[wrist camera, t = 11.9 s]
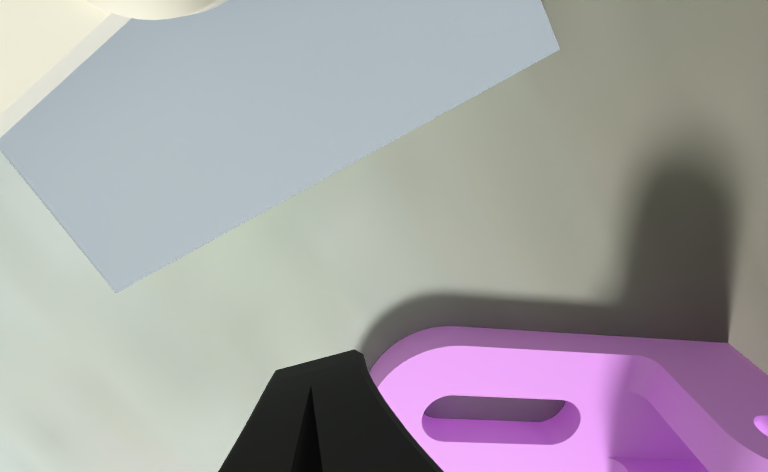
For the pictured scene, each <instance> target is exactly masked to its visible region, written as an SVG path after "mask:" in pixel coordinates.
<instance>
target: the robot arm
mask: <svg viewBox="0 0 768 472" xmlns="http://www.w3.org/2000/svg"><path fill="white" fill-rule="evenodd" d="M218 472H444V471H443V470H442V469H441V468H440V467H439V466H438V465H437V464H436V463H435V462H434V460H433V459H432V458H431V457H430V456H429V455H428V454H427V453H426V452H425V450H424V449H423V448H422V447H421V446H420V445H419V444H418V443H417V441H416V440H415V439H414V438H413V437H412V435H411V434H410V433H409V432H408V430H407V429H406V428H405V427H404V425H403V424H402V423H401V421H400V420H399V419H398V417H397V416H396V415H395V413H394V412H393V411H392V409H391V408H390V407H389V405H388V404H387V402H386V401H385V399H384V398H383V396H382V395H381V393H380V392H379V390H378V388H377V387H376V385H375V383H374V382H373V380H372V378H371V376H370V374H369V372H368V370H367V366H366V363H365V359H364V356H363V354H362V353H360V352H358V351H356V350H351V351H347V352H343V353H339V354H336V355H332V356H328V357H324V358H321V359H317V360H313V361H309V362H306V363H302V364H298V365H294V366H291V367H287V368H283V369H279V370H276V371H275V373H274V374H273V376H272V378H271V379H270V381H269V383H268V385H267V386H266V388H265V390H264V392H263V394H262V396H261V397H260V399H259V401H258V403H257V405H256V407H255V409H254V410H253V412H252V414H251V416H250V418H249V420H248V421H247V423H246V425H245V427H244V429H243V430H242V432H241V434H240V436H239V437H238V439H237V441H236V443H235V444H234V446H233V448H232V449H231V451H230V453H229V454H228V456H227V458H226V460H225V461H224V463H223V465H222V466H221V468H220V470H219V471H218Z"/></svg>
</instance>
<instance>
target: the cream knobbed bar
mask: <svg viewBox="0 0 768 472" xmlns="http://www.w3.org/2000/svg"><path fill="white" fill-rule="evenodd" d="M227 1H229V0H0V138H1V137H2V136H3V135H4V134H5V133H6V132H7V131H8V130H9V129H11V128H12V127H13V126H14V125H15V124H16V123H17V122H18V121H19V120H20V119H22V118H23V117H24V116H25V115H26V114H27V113H28V112H29V111H30V110H31V109H33V108H34V107H35V106H36V105H37V104H38V103H39V102H40V101H41V100H42V99H44V98H45V97H46V96H47V95H48V94H49V93H50V92H51V91H52V90H53V89H54V88H56V87H57V86H58V85H59V84H60V83H61V82H62V81H63V80H64V79H65V78H67V77H68V76H69V75H70V74H71V73H72V72H73V71H74V70H75V69H76V68H78V67H79V66H80V65H81V64H82V63H83V62H84V61H85V60H86V59H87V58H89V57H90V56H91V55H92V54H93V53H94V52H95V51H96V50H97V49H98V48H99V47H101V46H102V45H103V44H104V43H105V42H106V41H107V40H108V39H109V38H110V37H112V36H113V35H114V34H115V33H116V32H117V31H118V30H119V29H120V28H121V27H123V26H124V25H125V24H126V23H127V22H128V21H129V20H130V19H131V18H134V19H141V20H162V19H171V18H177V17H182V16H188V15H193V14H198V13H202V12H206V11H209V10H211V9H214V8H217V7H219V6H220V5H222V4H224V3H226V2H227Z"/></svg>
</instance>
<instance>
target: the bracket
mask: <svg viewBox="0 0 768 472" xmlns="http://www.w3.org/2000/svg"><path fill="white" fill-rule="evenodd" d="M369 374H370V376H371V378H372V380H373V382H374V383H375V385H376V387H377V388H378V390H379V392H380V393H381V395H382V396H383V398H384V399H385V401H386V402H387V404H388V405H389V407H390V408H391V409H392V411H393V412H394V413H395V415H396V416H397V417H398V419H399V420H400V421H401V423H402V424H403V425H404V427H405V428H406V429H407V430H408V432H409V433H410V434H411V435H412V437H413V438H414V439H415V440H416V441H417V443H418V444H419V445H420V446H421V447H422V448H423V449H424V450H425V452H426V453H427V454H428V455H429V456H430V457H431V458H432V459H433V460H434V462H435V463H436V464H437V465H438V466H439V467H440V468H441V469H442V470H443V471H444V472H768V375H766V374H765V373H764V372H763V371H762V370H760V369H759V368H758V367H757V366H755V365H754V364H753V363H752V362H751V361H749V360H748V359H747V358H746V357H744V356H743V355H742V354H741V353H740V352H738V351H737V350H736V349H735V348H733V347H732V346H731V345H730V344H729V343H719V342H703V341H687V340H671V339H655V338H639V337H622V336H606V335H590V334H574V333H558V332H542V331H526V330H509V329H493V328H477V327H461V326H441V327H434V328H428V329H425V330H421V331H418V332H416V333H413V334H411V335H409V336H407V337H405V338H403V339H401V340H400V341H398V342H396V343H395V344H394V345H392V346H391V347H390V348H389V349H388V350H386V351H385V352H384V353H383V354H382V355H381V356H380V358H379V359H378V360H377V361H376V363H375V364H374V365H373V367H372V369H371V370H370V372H369ZM450 395H458V396H481V397H505V398H528V399H551V400H565V404H564V406H563V408H562V409H561V411H560V412H559V413H558V414H557V415H555V416H554V417H552V418H550V419H548V420H545V421H541V422H527V421H500V420H472V419H445V418H432V417H428V416H426V415H424V414H423V413H424V411H425V409H426V408H427V407H428V406H429V405H430V404H431V403H432V402H433V401H435V400H437V399H439V398H441V397H444V396H450Z"/></svg>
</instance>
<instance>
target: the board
mask: <svg viewBox="0 0 768 472" xmlns="http://www.w3.org/2000/svg"><path fill="white" fill-rule="evenodd" d="M558 50H560V48H559V46H558V43H557V40H556V38H555V35H554V33H553V30H552V28H551V25H550V22H549V20H548V17H547V15H546V12H545V10H544V7H543V4H542V2H541V0H229V1H227V2H226V3H224V4H222V5H220V6H219V7H217V8H214V9H211V10H209V11H206V12H202V13H198V14H193V15H188V16H182V17H177V18H171V19H162V20H141V19H134V18H131V19H130V20H129V21H128V22H127V23H126V24H125V25H124V26H123V27H121V28H120V29H119V30H118V31H117V32H116V33H115V34H114V35H113V36H112V37H110V38H109V39H108V40H107V41H106V42H105V43H104V44H103V45H102V46H101V47H99V48H98V49H97V50H96V51H95V52H94V53H93V54H92V55H91V56H90V57H89V58H87V59H86V60H85V61H84V62H83V63H82V64H81V65H80V66H79V67H78V68H76V69H75V70H74V71H73V72H72V73H71V74H70V75H69V76H68V77H67V78H65V79H64V80H63V81H62V82H61V83H60V84H59V85H58V86H57V87H56V88H54V89H53V90H52V91H51V92H50V93H49V94H48V95H47V96H46V97H45V98H44V99H42V100H41V101H40V102H39V103H38V104H37V105H36V106H35V107H34V108H33V109H31V110H30V111H29V112H28V113H27V114H26V115H25V116H24V117H23V118H22V119H20V120H19V121H18V122H17V123H16V124H15V125H14V126H13V127H12V128H11V129H9V130H8V131H7V132H6V133H5V134H4V135H3V136H2V137H1V138H0V151H1V152H2V153H3V154H4V156H5V157H6V158H7V159H8V160H9V162H10V163H11V164H12V165H13V167H14V168H15V169H16V170H17V172H18V173H19V174H20V175H21V177H22V178H23V179H24V180H25V182H26V183H27V184H28V185H29V186H30V188H31V189H32V190H33V191H34V193H35V194H36V195H37V196H38V198H39V199H40V200H41V201H42V203H43V204H44V205H45V206H46V207H47V209H48V210H49V211H50V212H51V214H52V215H53V216H54V217H55V219H56V220H57V221H58V222H59V224H60V225H61V226H62V227H63V229H64V230H65V231H66V232H67V233H68V235H69V236H70V237H71V238H72V240H73V241H74V242H75V243H76V245H77V246H78V247H79V248H80V250H81V251H82V252H83V253H84V255H85V256H86V257H87V258H88V259H89V261H90V262H91V263H92V264H93V266H94V267H95V268H96V269H97V271H98V272H99V273H100V274H101V276H102V277H103V278H104V279H105V280H106V282H107V283H108V284H109V285H110V287H111V288H112V289H113V290H114V292H115V293H117V292H119V291H121V290H123V289H124V288H126V287H128V286H130V285H132V284H133V283H135V282H137V281H139V280H141V279H143V278H144V277H146V276H148V275H150V274H152V273H153V272H155V271H157V270H159V269H161V268H163V267H164V266H166V265H168V264H170V263H172V262H174V261H175V260H177V259H179V258H181V257H183V256H184V255H186V254H188V253H190V252H192V251H194V250H195V249H197V248H199V247H201V246H203V245H204V244H206V243H208V242H210V241H212V240H214V239H215V238H217V237H219V236H221V235H223V234H225V233H226V232H228V231H230V230H232V229H234V228H235V227H237V226H239V225H241V224H243V223H245V222H246V221H248V220H250V219H252V218H254V217H255V216H257V215H259V214H261V213H263V212H265V211H266V210H268V209H270V208H272V207H274V206H276V205H277V204H279V203H281V202H283V201H285V200H286V199H288V198H290V197H292V196H294V195H296V194H297V193H299V192H301V191H303V190H305V189H306V188H308V187H310V186H312V185H314V184H316V183H317V182H319V181H321V180H323V179H325V178H327V177H328V176H330V175H332V174H334V173H336V172H337V171H339V170H341V169H343V168H345V167H347V166H348V165H350V164H352V163H354V162H356V161H357V160H359V159H361V158H363V157H365V156H367V155H368V154H370V153H372V152H374V151H376V150H378V149H379V148H381V147H383V146H385V145H387V144H388V143H390V142H392V141H394V140H396V139H398V138H399V137H401V136H403V135H405V134H407V133H408V132H410V131H412V130H414V129H416V128H418V127H419V126H421V125H423V124H425V123H427V122H428V121H430V120H432V119H434V118H436V117H438V116H439V115H441V114H443V113H445V112H447V111H449V110H450V109H452V108H454V107H456V106H458V105H459V104H461V103H463V102H465V101H467V100H469V99H470V98H472V97H474V96H476V95H478V94H479V93H481V92H483V91H485V90H487V89H489V88H490V87H492V86H494V85H496V84H498V83H500V82H501V81H503V80H505V79H507V78H509V77H510V76H512V75H514V74H516V73H518V72H520V71H521V70H523V69H525V68H527V67H529V66H530V65H532V64H534V63H536V62H538V61H540V60H541V59H543V58H545V57H547V56H549V55H551V54H552V53H554V52H556V51H558Z"/></svg>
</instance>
